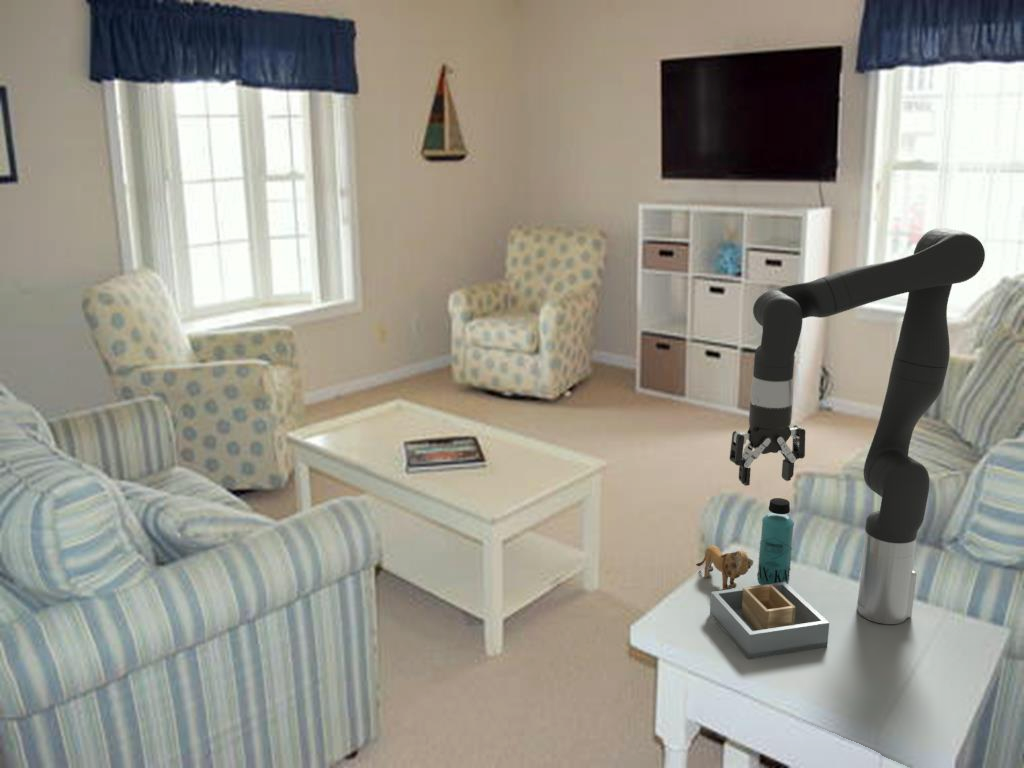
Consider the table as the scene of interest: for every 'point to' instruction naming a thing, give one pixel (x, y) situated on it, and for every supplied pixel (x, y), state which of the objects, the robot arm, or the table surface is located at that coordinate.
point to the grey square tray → (773, 641)
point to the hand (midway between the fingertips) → (765, 481)
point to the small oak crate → (766, 608)
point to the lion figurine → (726, 564)
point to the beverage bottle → (776, 544)
